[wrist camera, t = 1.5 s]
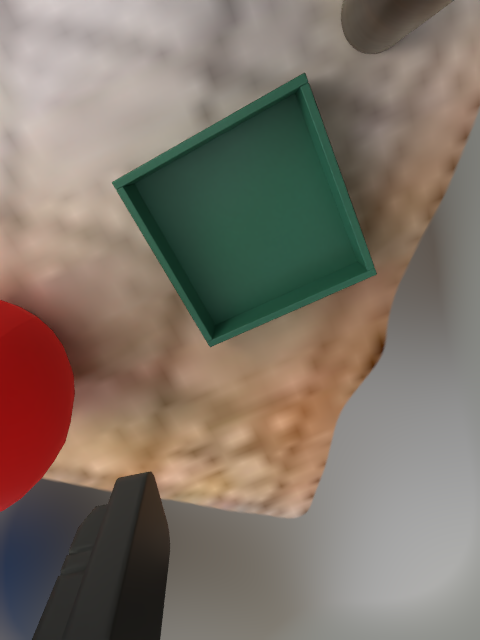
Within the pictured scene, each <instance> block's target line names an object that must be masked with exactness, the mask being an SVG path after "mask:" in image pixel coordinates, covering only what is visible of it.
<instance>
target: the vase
mask: <svg viewBox="0 0 480 640" xmlns="http://www.w3.org/2000/svg"><path fill="white" fill-rule="evenodd" d="M74 396H75V389H74V376H73V372H72V369H71V366H70V363H69V360H68V357H67V355H66V352H65V349H64V347H63V345H62V343H61V342H60V341H59V339H58V338H57V336H56V335H55V334H54V332H53V331H52V330H51V329H50V328H49V327H48V326H47V325H46V324H45V323H44V322H42V321H41V320H40V319H39V318H38V317H36V316H35V315H33V314H31V313H30V312H28V311H26V310H25V309H23V308H21V307H19V306H16V305H14V304H11V303H8V302H5V301H2V300H0V511H3V510H5V509H6V508H8V507H9V506H11V505H12V504H13V503H15V502H16V501H18V500H19V499H21V498H22V497H23V496H24V495H25V494H26V493H27V492H28V491H29V490H30V489H31V488H32V487H33V486H34V485H35V484H36V483H37V482H38V481H39V480H40V479H41V478H42V477H43V476H44V474H45V473H46V472H47V470H48V469H49V467H50V466H51V465H52V463H53V462H54V460H55V459H56V457H57V455H58V454H59V452H60V450H61V449H62V447H63V445H64V443H65V441H66V437H67V434H68V430H69V426H70V422H71V416H72V409H73V402H74Z"/></svg>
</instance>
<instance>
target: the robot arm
mask: <svg viewBox="0 0 480 640" xmlns="http://www.w3.org/2000/svg"><path fill="white" fill-rule="evenodd" d="M169 555H170V537H169V529H168V524H167V520H166V516H165V513H164V509H163V506H162V502H161V498H160V495H159V491H158V488H157V484H156V481H155V477H154V475H153V473H152V472H145V473H140V474H135V475H130V476H125V477H120V478H118V479H117V480H116V483H115V485H114V488H113V491H112V494H111V497H110V500H109V503H108V504H106V505H102V506H96V507H95V508H94V509H93V510H92V512H91V513H90V514H89V515H88V517H87V518H86V519H85V520H84V522H83V523H82V524H81V525H80V526H79V527H78V530H77V532H76V535H75V537H74V540H73V542H72V544H71V547H70V549H69V555H67V556H66V559H65V561H64V564H63V566H62V569H61V575H60V576H58V578H57V580H56V583H55V585H54V588H53V590H52V592H51V595H50V597H49V600H48V602H47V605H46V607H45V609H44V612H43V614H42V617H41V619H40V621H39V624H38V626H37V629H36V631H35V633H34V636H33V638H32V640H160V636H161V627H162V618H163V608H164V599H165V591H166V582H167V573H168V564H169Z"/></svg>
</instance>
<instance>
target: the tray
mask: <svg viewBox="0 0 480 640" xmlns="http://www.w3.org/2000/svg"><path fill="white" fill-rule="evenodd" d="M112 184H113V185H114V187H115V189H116V190H117V192H118V194H119V196H120V197H121V199H122V201H123V202H124V204H125V206H126V207H127V209H128V211H129V212H130V214H131V216H132V217H133V219H134V221H135V222H136V224H137V226H138V227H139V229H140V231H141V232H142V234H143V236H144V237H145V239H146V241H147V242H148V244H149V246H150V248H151V249H152V251H153V253H154V254H155V256H156V258H157V259H158V261H159V263H160V264H161V266H162V268H163V269H164V271H165V273H166V274H167V276H168V278H169V279H170V281H171V283H172V284H173V286H174V288H175V289H176V291H177V293H178V294H179V296H180V298H181V299H182V301H183V303H184V305H185V306H186V308H187V310H188V311H189V313H190V315H191V316H192V318H193V320H194V321H195V323H196V325H197V326H198V328H199V330H200V331H201V333H202V335H203V336H204V338H205V340H206V341H207V343H208V345H209V346H210V347H212V346H214V345H216V344H219V343H221V342H223V341H225V340H228V339H230V338H232V337H235V336H237V335H239V334H241V333H244V332H246V331H248V330H251V329H253V328H255V327H257V326H260V325H262V324H264V323H267V322H269V321H271V320H273V319H276V318H278V317H280V316H283V315H285V314H287V313H289V312H292V311H294V310H296V309H299V308H301V307H303V306H305V305H308V304H310V303H312V302H315V301H317V300H319V299H322V298H324V297H326V296H328V295H331V294H333V293H335V292H338V291H340V290H342V289H344V288H347V287H349V286H351V285H354V284H356V283H358V282H360V281H363V280H365V279H367V278H370V277H372V276H374V275H376V274H377V273H376V270H375V268H374V264H373V262H372V259H371V256H370V253H369V250H368V248H367V245H366V242H365V239H364V236H363V234H362V231H361V228H360V225H359V222H358V220H357V217H356V214H355V211H354V208H353V206H352V203H351V200H350V197H349V194H348V192H347V189H346V186H345V183H344V180H343V177H342V175H341V172H340V169H339V166H338V163H337V161H336V158H335V155H334V152H333V149H332V147H331V144H330V141H329V138H328V135H327V133H326V130H325V127H324V124H323V121H322V119H321V116H320V113H319V110H318V107H317V105H316V102H315V99H314V96H313V93H312V91H311V88H310V85H309V83H308V79H307V77H306V74H305V73H303V74H301V75H300V76H298V77H296V78H294V79H293V80H291V81H289V82H287V83H286V84H284V85H282V86H280V87H279V88H277V89H275V90H273V91H272V92H270V93H268V94H266V95H264V96H263V97H261V98H259V99H257V100H256V101H254V102H252V103H250V104H249V105H247V106H245V107H243V108H242V109H240V110H238V111H236V112H235V113H233V114H231V115H229V116H228V117H226V118H224V119H222V120H221V121H219V122H217V123H215V124H214V125H212V126H210V127H208V128H207V129H205V130H203V131H201V132H199V133H198V134H196V135H194V136H192V137H191V138H189V139H187V140H185V141H184V142H182V143H180V144H178V145H177V146H175V147H173V148H171V149H170V150H168V151H166V152H164V153H163V154H161V155H159V156H157V157H156V158H154V159H152V160H150V161H149V162H147V163H145V164H143V165H141V166H140V167H138V168H136V169H134V170H133V171H131V172H129V173H127V174H126V175H124V176H122V177H120V178H119V179H117V180H115V181H113V182H112Z"/></svg>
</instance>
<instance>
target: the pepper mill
mask: <svg viewBox="0 0 480 640" xmlns="http://www.w3.org/2000/svg"><path fill="white" fill-rule="evenodd" d="M452 1H454V0H344V1H343V5H342V12H341V22H342V28H343V32H344V34H345V37H346V38H347V40H348V42H349V43H350V44H351V45H352V46H353V47H354V48H355V49H356V50H358V51H360V52H363V53H367V54H375V53H380V52H383V51H385V50H387V49H389V48H390V47H392V46H393V45H394V44H396V43H397V42H398V41H400V40H401V39H402V38H404V37H405V36H406V35H408V34H409V33H410V32H412V31H413V30H415V29H416V28H417V27H419V26H420V25H421V24H423V23H424V22H425V21H427V20H428V19H429V18H431V17H432V16H433V15H435V14H436V13H438V12H439V11H440V10H442V9H443V8H444V7H446V6H447V5H448V4H450V3H451V2H452Z"/></svg>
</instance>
